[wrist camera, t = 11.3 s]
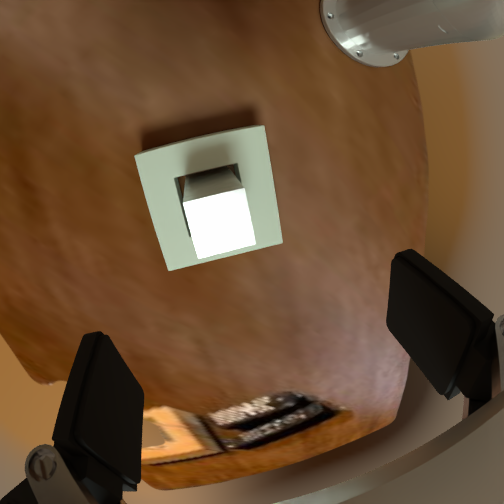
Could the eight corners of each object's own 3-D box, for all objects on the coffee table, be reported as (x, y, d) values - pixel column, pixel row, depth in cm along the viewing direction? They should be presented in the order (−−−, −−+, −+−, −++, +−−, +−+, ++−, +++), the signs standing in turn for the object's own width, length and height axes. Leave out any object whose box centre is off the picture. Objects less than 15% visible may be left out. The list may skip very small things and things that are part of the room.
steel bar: (226, 165, 30) (244, 187, 21) (235, 204, 32) (255, 243, 23) (185, 175, 30) (182, 202, 20) (195, 214, 32) (198, 258, 22)
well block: (255, 124, 29) (264, 125, 26) (272, 229, 34) (282, 242, 31) (141, 151, 28) (134, 155, 24) (170, 254, 33) (168, 271, 30)
